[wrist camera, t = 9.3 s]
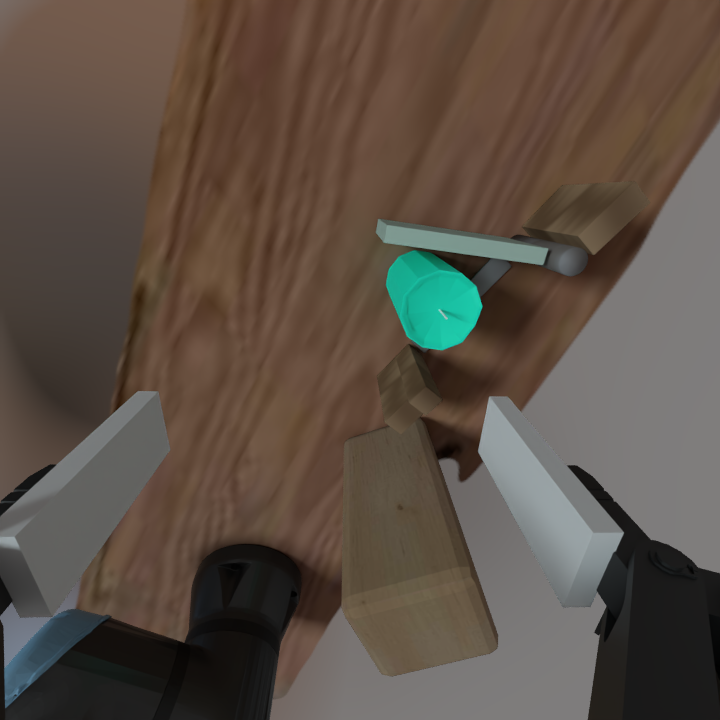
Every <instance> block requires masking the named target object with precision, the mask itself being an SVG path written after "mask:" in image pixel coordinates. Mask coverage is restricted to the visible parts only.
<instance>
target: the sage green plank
mask: <svg viewBox="0 0 720 720" xmlns="http://www.w3.org/2000/svg"><path fill="white" fill-rule="evenodd" d="M376 233H377V234H378V236H379V237H380V238H381V239H382V241H383V242H384V243H390V244H397V245H404V246H411V247H418V248H425V249H432V250H439V251H447V252H454V253H461V254H468V255H475V256H482V257H489V258H496V259H503V260H510V261H517V262H524V263H531V264H538V265H543V264H544V261H545V258H546V255H547V252H548V248H544V247H541V246H537V245H533V244H529V243H525V242H521V241H517V240H513V239H509V238H505V237H499V236H492V235H485V234H479V233H472V232H465V231H458V230H451V229H445V228H438V227H431V226H424V225H417V224H411V223H404V222H397V221H390V220H384V219H378V224H377V230H376Z"/></svg>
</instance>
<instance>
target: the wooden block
mask: <svg viewBox="0 0 720 720" xmlns="http://www.w3.org/2000/svg"><path fill="white" fill-rule="evenodd" d="M342 610H343V612H344V615H345V617H346V619H347V620H348V622H349V624H350V625H351V627H352V628H353V630H354V631H355V633H356V634H357V636H358V638H359V639H360V641H361V642H362V644H363V646H364V647H365V649H366V650H367V652H368V654H369V655H370V657H371V658H372V660H373V661H374V663H375V665H376V666H377V668H378V669H379V671H380V672H381V674H383V675H387V676H396V675H400V674H405V673H408V672H413V671H418V670H421V669H426V668H430V667H434V666H439V665H443V664H447V663H452V662H456V661H460V660H464V659H468V658H473V657H477V656H481V655H486V654H490V653H492V652H493V651H494V650H496V649H497V647H498V634H497V631H496V628H495V625H494V622H493V619H492V616H491V613H490V611H489V608H488V605H487V602H486V599H485V596H484V593H483V590H482V587H481V584H480V582H479V578H478V576H477V572H476V570H475V567H474V564H473V561H472V558H471V555H470V552H469V549H468V547H467V544H466V541H465V538H464V535H463V532H462V529H461V526H460V523H459V520H458V517H457V514H456V511H455V508H454V506H453V503H452V500H451V497H450V494H449V491H448V488H447V485H446V482H445V479H444V476H443V473H442V471H441V468H440V465H439V462H438V459H437V456H436V453H435V450H434V447H433V444H432V442H431V439H430V436H429V433H428V430H427V427H426V424H425V423H424V422H423V421H422V420H421V419H420V418H418V419H417V420H416V421H415V422H414V423H413V424H412V425H411V426H410V427H409V428H408V429H407V430H405V431H404V432H403V433H402V434H400V433H398V432H397V431H396V430H394V429H393V428H391V427H390V426H387V427H384V428H381V429H377V430H374V431H371V432H368V433H365V434H362V435H359V436H356V437H352V438H350V439H348V440H347V441H346V442H345V443H344V481H343V545H342Z"/></svg>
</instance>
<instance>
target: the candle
mask: <svg viewBox="0 0 720 720" xmlns="http://www.w3.org/2000/svg"><path fill="white" fill-rule="evenodd" d="M386 286H387V289H388V292H389V295H390V297H391V300H392V302H393V305H394V307H395V309H396V311H397V314H398V316H399V318H400V321H401V323H402V325H403V328H404V330H405V332H406V335H407V337H409V338H410V339H411V340H413V341H414V342H415V343H417V344H418V345H420V346H421V347H423V348H430V349H437V350H444V349H447V348H449V347H452V346H454V345H457V344H459V343H462V342H463V341H464V339H465V338H466V337H467V335H468V334H469V333H470V332H471V330H472V329H473V328H474V326H475V325H476V322H477V320H478V317H479V315H480V312H481V310H482V307H483V306H482V303H481V300H480V297H479V293H478V290H477V287H476V285H474V284H473V283H472V282H471V281H470V280H469V279H468V278H467V277H466V276H464V275H463V274H462V273H461V272H459V271H458V270H456V269H455V268H453V267H452V266H450V265H449V264H447V263H446V262H444V261H443V260H441V259H440V258H438V257H437V256H435V255H434V254H432V253H430V252H424V251H418V250H413V251H411V252H408V253H406V254H404V255H401V256H399V257H398V258H397V260H396V261H395V262H394V263H393V265H392V266H391V267H390V268H389V271H388V276H387V282H386Z"/></svg>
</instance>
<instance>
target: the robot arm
mask: <svg viewBox="0 0 720 720" xmlns="http://www.w3.org/2000/svg"><path fill="white" fill-rule="evenodd" d="M169 451H170V446H169V441H168V436H167V432H166V427H165V422H164V417H163V412H162V407H161V403H160V398H159V393H158V392H152V391H138V392H137V393H135V394H134V395H133V396H132V397H131V398H130V399H129V400H128V401H127V402H126V403H124V404H123V405H122V406H121V407H120V408H119V409H118V410H117V411H116V412H115V413H113V414H112V415H111V416H110V417H109V418H108V419H107V420H106V421H105V422H104V423H102V424H101V425H100V426H99V427H98V428H97V429H96V430H95V431H94V432H93V433H91V434H90V435H89V436H88V437H87V438H86V439H85V440H84V441H83V442H82V443H81V444H80V445H78V446H77V447H76V448H75V449H74V450H73V451H72V452H71V453H69V454H68V455H67V456H66V457H65V458H64V459H63V460H62V461H61V462H60V463H58V465H48V466H47V467H45V468H43V469H41V470H40V471H38V472H36V473H34V474H33V475H31V476H29V477H28V478H27V479H26V480H25V481H24V482H23V483H21V484H20V485H19V486H18V487H16V488H15V489H14V492H11V493H10V494H8V495H7V496H6V497H5V498H4V499H3V500H1V503H0V615H1V614H2V613H3V612H4V611H5V609H6V608H7V607H8V606H9V605H10V603H11V602H12V603H13V605H14V607H15V609H16V611H17V613H18V615H19V616H20V618H21V617H52V616H53V615H54V614H55V612H56V611H57V609H58V608H59V607H60V605H61V604H62V602H63V601H64V600H65V598H66V597H67V595H68V594H69V593H70V591H71V589H72V588H73V587H74V585H75V584H76V583H77V581H78V580H79V578H80V577H81V576H82V574H83V573H84V571H85V570H86V569H87V567H88V566H89V564H90V563H91V561H92V560H93V559H94V557H95V556H96V554H97V553H98V552H99V550H100V549H101V547H102V546H103V544H104V543H105V542H106V540H107V539H108V537H109V536H110V534H111V533H112V532H113V530H114V529H115V527H116V526H117V525H118V523H119V522H120V520H121V519H122V517H123V516H124V515H125V513H126V512H127V510H128V509H129V508H130V506H131V505H132V503H133V502H134V500H135V499H136V498H137V496H138V495H139V493H140V492H141V491H142V489H143V488H144V486H145V485H146V483H147V482H148V481H149V479H150V478H151V476H152V475H153V474H154V472H155V471H156V469H157V468H158V466H159V465H160V464H161V462H162V461H163V459H164V458H165V457H166V455H167V454H168V452H169ZM478 453H479V454H480V456H481V458H482V460H483V462H484V464H485V465H486V467H487V469H488V471H489V473H490V475H491V476H492V478H493V480H494V482H495V484H496V485H497V487H498V489H499V491H500V493H501V495H502V497H503V498H504V500H505V502H506V504H507V506H508V508H509V509H510V511H511V513H512V515H513V517H514V519H515V520H516V522H517V524H518V526H519V528H520V530H521V531H522V533H523V535H524V537H525V539H526V540H527V542H528V544H529V546H530V548H531V550H532V552H533V553H534V555H535V557H536V559H537V561H538V563H539V565H540V566H541V568H542V570H543V572H544V574H545V576H546V577H547V579H548V581H549V583H550V585H551V586H552V588H553V590H554V592H555V594H556V596H557V598H558V599H559V601H560V603H561V605H562V607H590V606H591V604H592V602H593V600H594V597H595V595H596V593H597V592H598V593H599V595H600V596H601V598H602V599H603V601H604V603H605V604H606V606H607V607H606V609H605V611H604V614H603V615H602V617H601V619H600V622H599V624H598V626H597V628H596V630H595V633H596V634H597V635H600V638H599V645H598V652H597V659H596V667H595V673H594V681H593V687H592V695H591V701H590V709H589V715H588V720H720V573H716V572H712V571H709V570H705V569H701V568H698V567H697V566H696V565H695V564H694V562H693V561H692V560H690V559H689V558H688V557H687V556H685V555H684V554H683V553H682V552H680V551H678V550H677V549H675V548H673V547H671V546H669V545H667V544H664V543H661V542H658V541H654V540H650V538H649V537H648V536H647V535H646V534H645V533H644V532H643V531H642V530H641V529H640V528H639V526H638V525H637V524H636V523H635V522H634V521H633V520H632V519H631V518H630V517H629V516H628V514H626V512H625V511H624V510H623V509H622V508H621V507H620V506H619V505H618V504H617V503H616V502H614V501H613V498H612V497H611V496H610V495H609V494H608V493H607V492H606V491H604V488H603V487H602V486H601V485H600V484H599V483H598V482H597V481H596V480H595V478H593V476H591V475H590V474H588V473H587V472H585V471H584V470H583V469H581V468H580V467H578V466H575V465H571V466H570V465H569V466H567V465H566V464H565V463H564V462H563V461H562V460H561V458H560V457H559V456H558V455H557V454H556V453H555V451H554V450H553V449H552V448H551V447H550V445H549V444H548V443H547V442H546V441H545V440H544V438H543V437H542V436H541V435H540V434H539V433H538V431H537V430H536V429H535V428H534V427H533V426H532V424H531V423H530V422H529V421H528V420H527V419H526V417H525V416H524V415H523V414H522V413H521V412H520V410H519V409H518V408H517V407H516V406H515V405H514V403H513V402H512V401H511V400H510V399H509V398H508V397H495V396H489V401H488V406H487V411H486V416H485V420H484V425H483V430H482V435H481V440H480V444H479V449H478ZM301 584H302V578H301V574H300V572H299V570H298V568H297V566H296V565H295V564H294V563H293V562H292V561H291V560H290V559H289V558H288V557H286V556H285V555H283V554H281V553H279V552H277V551H275V550H273V549H270V548H266V547H262V546H257V545H234V546H229V547H225V548H222V549H219V550H217V551H215V552H213V553H211V554H210V555H208V556H207V557H206V558H205V559H204V560H203V561H202V563H201V564H200V566H199V568H198V571H197V573H196V576H195V578H194V581H193V584H192V590H191V605H190V619H189V631H188V634H187V637H186V640H185V643H183V642H180V641H177V640H175V639H172V638H169V637H166V636H163V635H159V634H156V633H153V632H150V631H147V630H144V629H141V628H138V627H135V626H132V625H130V624H127V623H124V622H121V621H118V620H115V619H113V618H111V616H110V615H104V616H102V615H98V614H94V613H90V612H86V611H82V610H79V609H70V610H66V611H63V612H61V613H59V614H57V615H56V616H54V617H53V618H51V619H50V620H49V621H48V622H47V623H46V624H45V625H44V626H43V627H42V628H41V629H40V630H39V631H38V632H37V633H36V634H35V635H34V636H33V637H32V638H31V639H30V640H29V641H28V643H27V644H26V645H25V646H24V647H23V648H22V649H21V651H19V653H18V654H17V655H16V656H15V657H14V658H13V659H12V661H11V662H10V663H9V664H8V665H7V666H6V667H5V669H4V636H3V635H4V634H3V625H2V623H1V620H0V720H270V712H271V706H272V699H273V692H274V685H275V678H276V671H277V664H278V657H279V650H280V645H281V641H282V639H283V637H284V635H285V632H286V630H287V628H288V626H289V623H290V621H291V619H292V617H293V614H294V612H295V610H296V608H297V605H298V603H299V599H300V593H301Z"/></svg>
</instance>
